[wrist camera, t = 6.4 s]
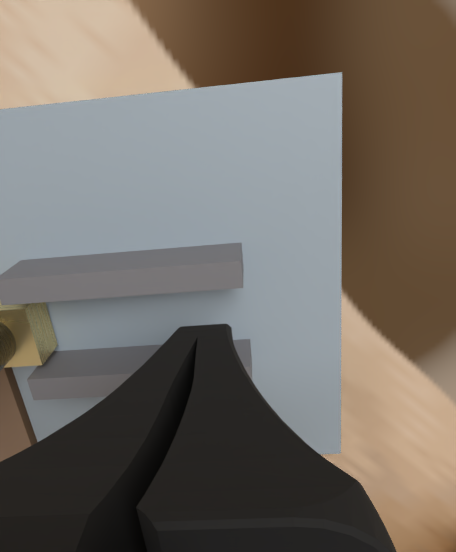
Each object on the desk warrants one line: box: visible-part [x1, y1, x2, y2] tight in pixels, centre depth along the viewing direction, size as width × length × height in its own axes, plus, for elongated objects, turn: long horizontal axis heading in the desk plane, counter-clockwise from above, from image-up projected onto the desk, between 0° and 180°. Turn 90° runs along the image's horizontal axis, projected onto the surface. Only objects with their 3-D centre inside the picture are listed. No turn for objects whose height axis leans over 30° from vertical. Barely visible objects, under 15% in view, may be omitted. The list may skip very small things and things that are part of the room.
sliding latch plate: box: [0, 73, 342, 462], centre depth 14 cm, size 20×13×4 cm, turn 96°
